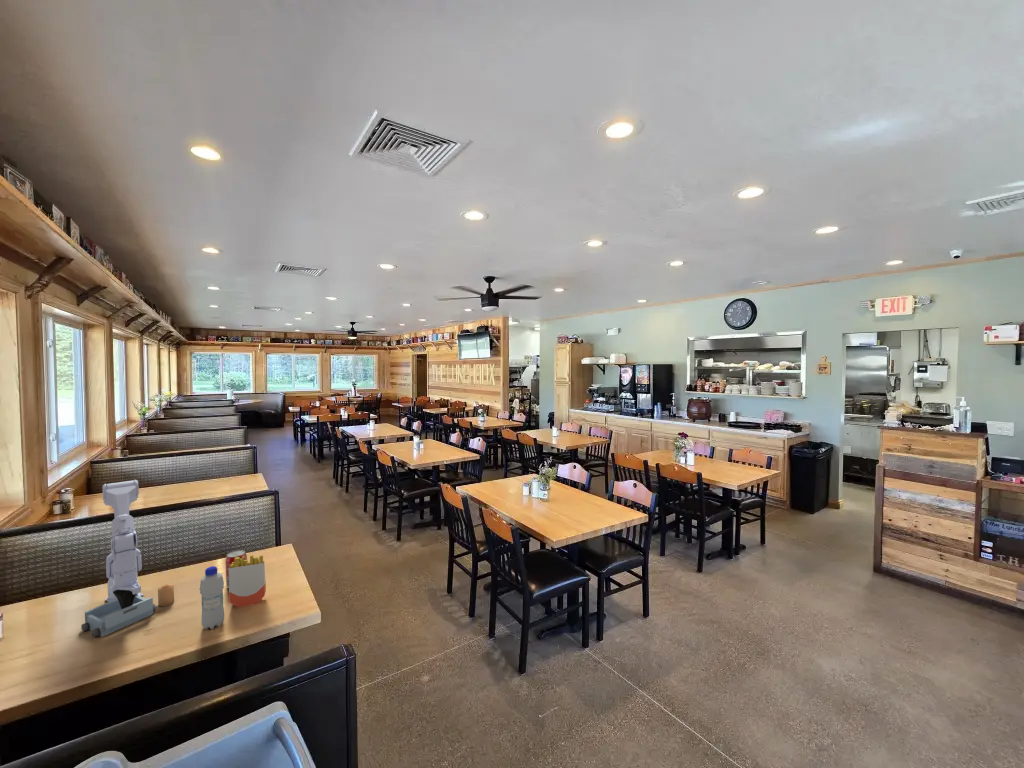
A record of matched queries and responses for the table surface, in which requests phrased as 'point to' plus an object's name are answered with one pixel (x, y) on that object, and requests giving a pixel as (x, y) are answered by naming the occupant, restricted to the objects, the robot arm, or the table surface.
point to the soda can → (231, 559)
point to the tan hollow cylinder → (166, 595)
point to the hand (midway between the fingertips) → (126, 609)
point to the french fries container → (247, 581)
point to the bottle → (212, 598)
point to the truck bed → (96, 615)
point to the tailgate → (128, 613)
